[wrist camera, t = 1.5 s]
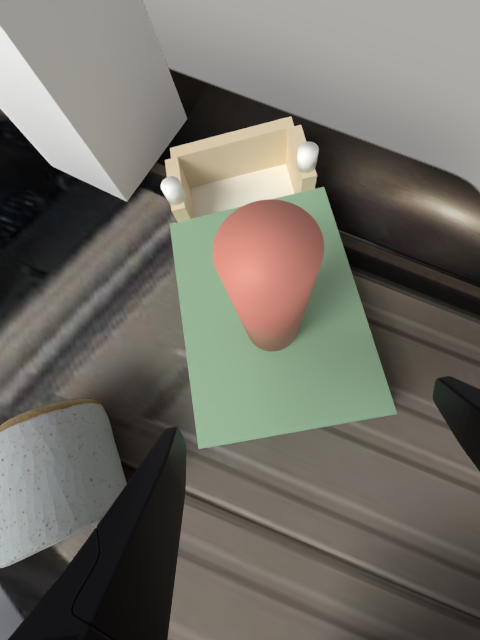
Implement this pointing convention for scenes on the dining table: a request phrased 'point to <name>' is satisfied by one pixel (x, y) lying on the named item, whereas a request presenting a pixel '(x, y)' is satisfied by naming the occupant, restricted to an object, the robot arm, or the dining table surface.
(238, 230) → the salmon pink cylinder
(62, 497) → the ceramic mug
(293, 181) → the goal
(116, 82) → the milk
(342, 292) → the pitch
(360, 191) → the dining table surface
